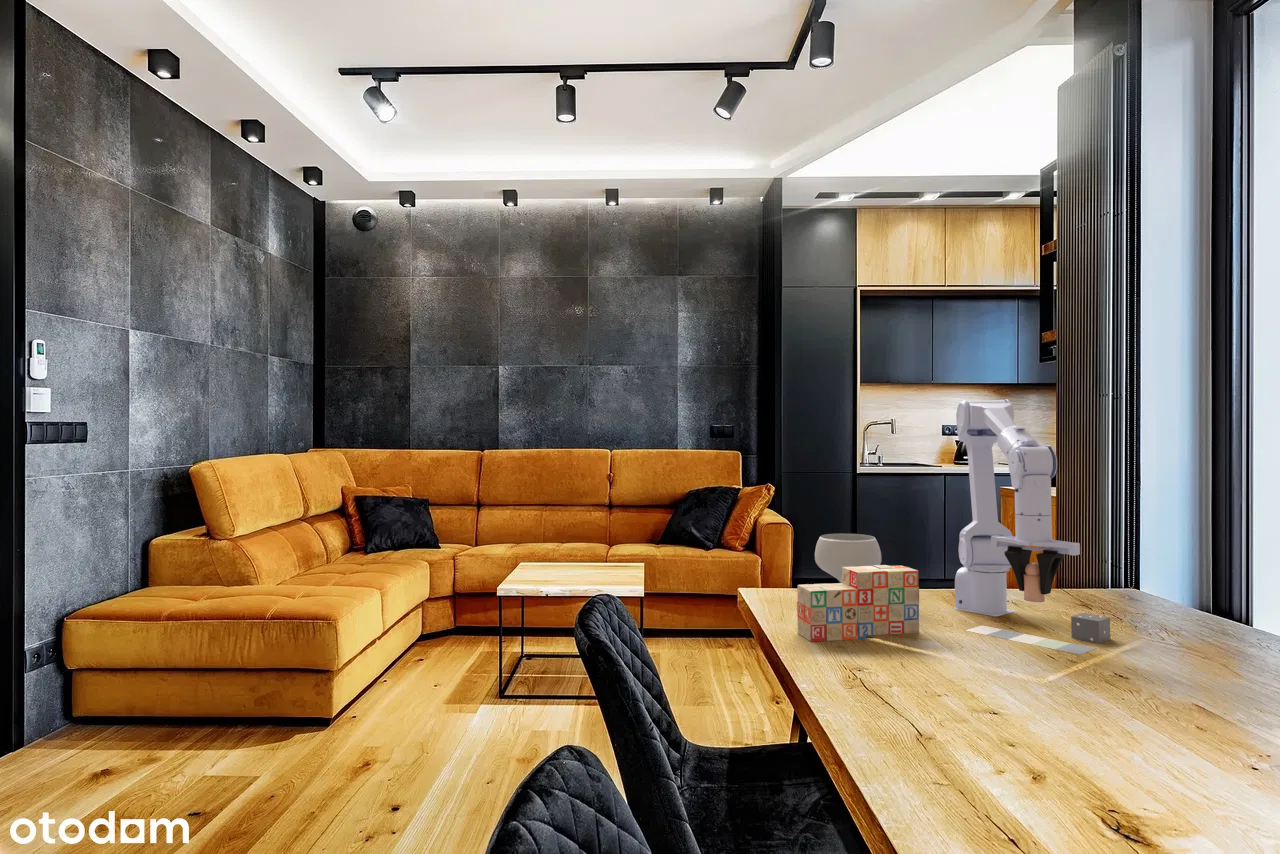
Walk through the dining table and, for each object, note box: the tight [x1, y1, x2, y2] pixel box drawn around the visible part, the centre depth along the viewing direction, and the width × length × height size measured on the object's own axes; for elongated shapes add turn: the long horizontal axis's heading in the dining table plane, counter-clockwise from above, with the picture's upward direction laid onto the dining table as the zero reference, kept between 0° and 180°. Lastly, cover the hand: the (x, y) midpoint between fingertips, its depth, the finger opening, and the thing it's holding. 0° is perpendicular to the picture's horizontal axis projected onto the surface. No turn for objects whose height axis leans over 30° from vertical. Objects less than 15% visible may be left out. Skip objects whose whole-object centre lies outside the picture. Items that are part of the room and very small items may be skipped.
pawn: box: [1023, 562, 1046, 603], centre depth 132 cm, size 3×3×7 cm
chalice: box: [814, 533, 882, 583], centre depth 163 cm, size 14×14×15 cm
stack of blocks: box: [796, 564, 920, 642], centre depth 140 cm, size 21×6×12 cm, turn 100°
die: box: [1070, 612, 1111, 644], centre depth 133 cm, size 5×5×5 cm
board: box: [965, 625, 1097, 656], centre depth 133 cm, size 20×6×1 cm, turn 37°
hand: (1034, 591), depth 132 cm, fingers closed on pawn, 3 cm apart
